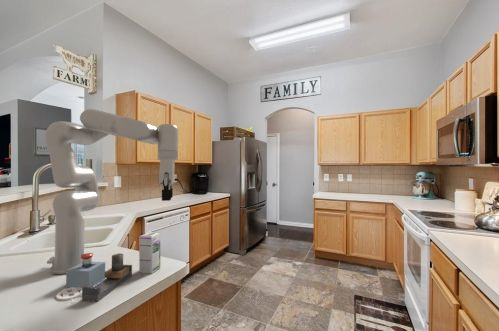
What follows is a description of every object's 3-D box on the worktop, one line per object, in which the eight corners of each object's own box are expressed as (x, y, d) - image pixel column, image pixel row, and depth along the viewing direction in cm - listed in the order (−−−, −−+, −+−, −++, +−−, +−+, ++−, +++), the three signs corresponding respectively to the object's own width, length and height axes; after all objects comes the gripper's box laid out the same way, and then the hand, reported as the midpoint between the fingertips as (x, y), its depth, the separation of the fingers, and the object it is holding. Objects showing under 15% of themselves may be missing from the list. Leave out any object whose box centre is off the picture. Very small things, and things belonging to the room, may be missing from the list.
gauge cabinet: (65, 288, 78) (66, 270, 78) (84, 277, 86) (84, 261, 86) (88, 289, 77) (88, 271, 77) (105, 278, 85) (105, 262, 85)
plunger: (78, 267, 80) (78, 256, 80) (85, 263, 84) (86, 252, 84) (87, 267, 80) (87, 256, 80) (94, 263, 83) (95, 253, 83)
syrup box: (152, 274, 89) (152, 236, 89) (138, 272, 90) (139, 235, 91) (160, 268, 95) (161, 232, 95) (147, 267, 96) (148, 231, 96)
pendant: (82, 286, 80) (82, 284, 80) (88, 298, 72) (88, 296, 72) (55, 294, 75) (55, 291, 75) (58, 308, 67) (58, 305, 67)
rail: (81, 301, 70) (82, 287, 70) (119, 275, 88) (119, 264, 88) (97, 301, 70) (97, 288, 70) (131, 275, 88) (132, 264, 88)
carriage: (104, 277, 81) (104, 257, 81) (113, 271, 86) (114, 252, 86) (120, 278, 80) (121, 258, 80) (129, 272, 85) (129, 253, 85)
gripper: (160, 157, 99) (159, 197, 98) (154, 153, 82) (154, 202, 82) (178, 157, 101) (178, 196, 100) (176, 154, 84) (176, 201, 84)
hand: (167, 199), depth 91 cm, fingers open, 9 cm apart
